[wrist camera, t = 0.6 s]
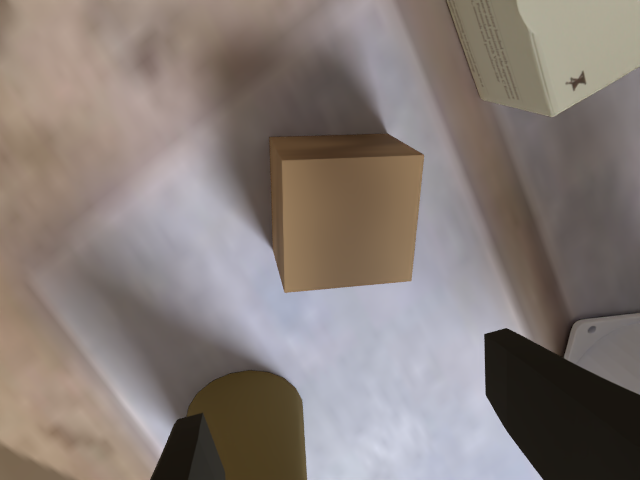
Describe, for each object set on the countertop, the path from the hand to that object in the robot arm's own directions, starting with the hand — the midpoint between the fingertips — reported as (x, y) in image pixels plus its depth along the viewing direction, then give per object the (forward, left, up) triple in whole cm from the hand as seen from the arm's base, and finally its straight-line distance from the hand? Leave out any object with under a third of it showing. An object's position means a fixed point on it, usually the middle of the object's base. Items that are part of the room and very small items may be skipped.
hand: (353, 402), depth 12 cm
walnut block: (-2, -2, -10) cm, 11 cm away
